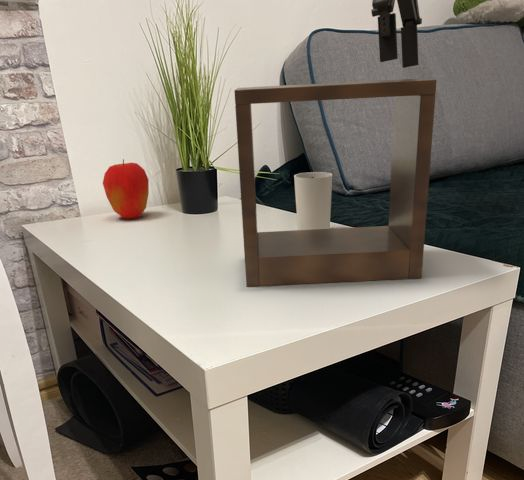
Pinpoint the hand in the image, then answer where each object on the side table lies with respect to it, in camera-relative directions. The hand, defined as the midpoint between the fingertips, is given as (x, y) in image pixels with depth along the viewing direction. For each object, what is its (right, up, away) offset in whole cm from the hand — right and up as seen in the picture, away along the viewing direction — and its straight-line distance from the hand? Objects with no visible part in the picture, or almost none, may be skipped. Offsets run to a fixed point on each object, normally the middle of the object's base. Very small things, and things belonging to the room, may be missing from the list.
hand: (400, 63), depth 99 cm
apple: (-52, -21, +24) cm, 61 cm away
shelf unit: (-14, -37, -14) cm, 42 cm away
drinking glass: (-14, -28, +5) cm, 32 cm away
